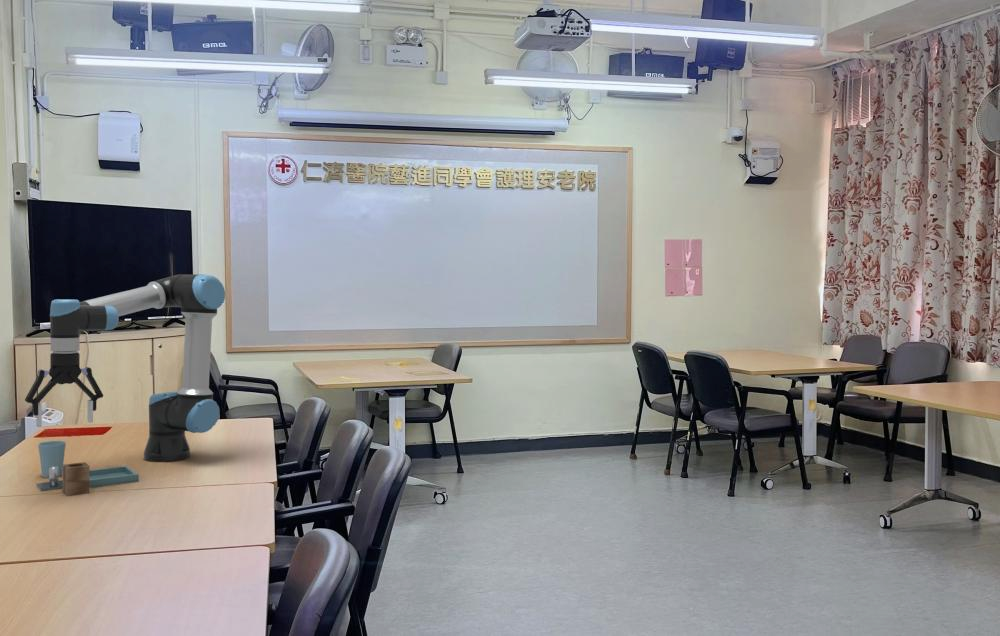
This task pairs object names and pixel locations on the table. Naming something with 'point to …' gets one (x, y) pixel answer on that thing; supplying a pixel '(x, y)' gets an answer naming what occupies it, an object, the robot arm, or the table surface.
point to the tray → (112, 476)
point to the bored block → (76, 478)
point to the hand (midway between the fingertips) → (65, 424)
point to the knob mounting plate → (51, 481)
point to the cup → (51, 456)
